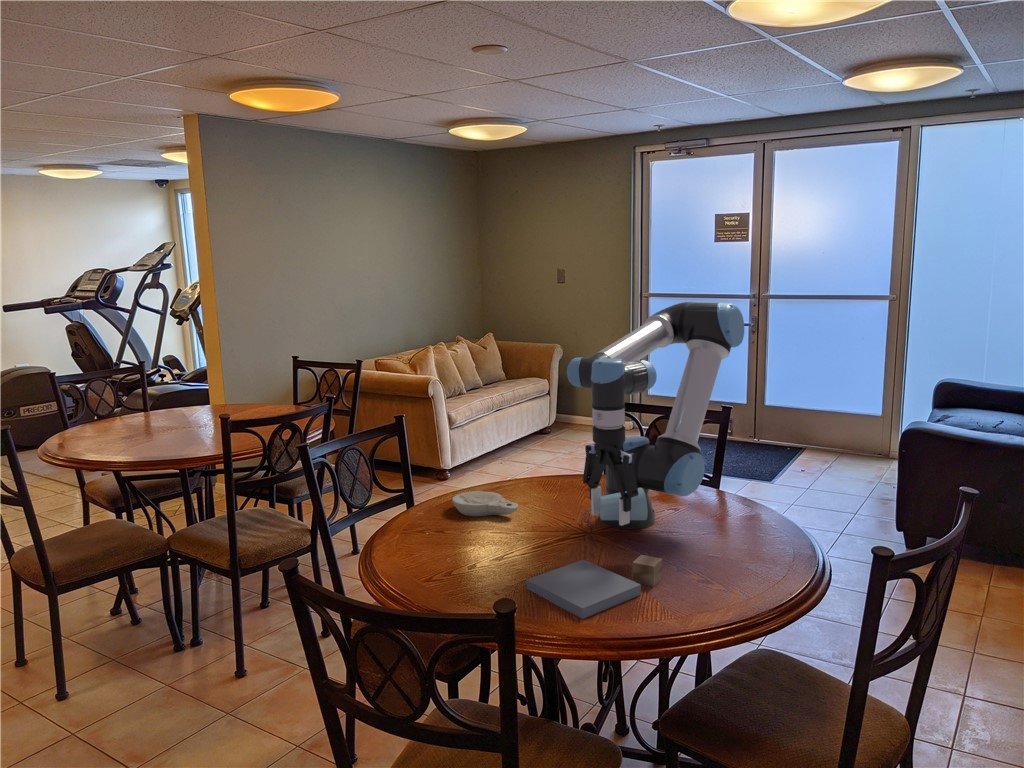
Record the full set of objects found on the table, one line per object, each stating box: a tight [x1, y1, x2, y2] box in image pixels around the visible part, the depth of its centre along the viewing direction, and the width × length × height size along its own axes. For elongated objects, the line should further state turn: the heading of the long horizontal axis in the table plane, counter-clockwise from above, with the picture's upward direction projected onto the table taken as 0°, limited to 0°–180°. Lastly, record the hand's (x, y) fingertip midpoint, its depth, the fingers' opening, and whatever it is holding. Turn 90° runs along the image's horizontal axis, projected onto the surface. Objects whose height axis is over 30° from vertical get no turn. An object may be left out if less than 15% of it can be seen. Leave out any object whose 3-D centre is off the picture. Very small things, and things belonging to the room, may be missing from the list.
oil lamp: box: [451, 490, 519, 517], centre depth 211 cm, size 21×14×5 cm
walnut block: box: [632, 554, 663, 588], centre depth 165 cm, size 5×5×5 cm
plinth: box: [525, 559, 642, 620], centre depth 160 cm, size 18×17×2 cm
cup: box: [598, 488, 648, 520], centre depth 175 cm, size 8×8×10 cm
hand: (610, 518), depth 175 cm, fingers closed on cup, 8 cm apart
